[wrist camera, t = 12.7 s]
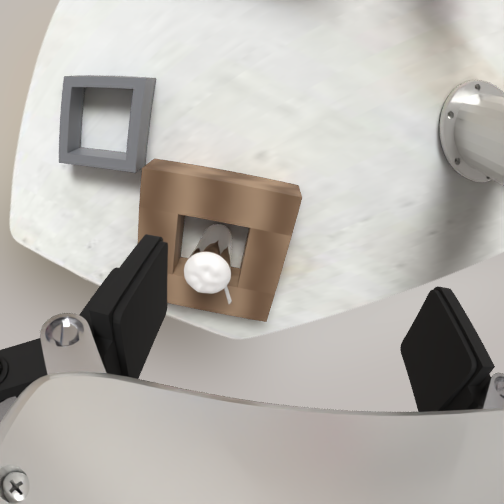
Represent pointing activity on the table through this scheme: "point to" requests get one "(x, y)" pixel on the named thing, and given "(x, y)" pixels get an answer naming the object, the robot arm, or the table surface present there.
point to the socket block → (227, 211)
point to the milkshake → (211, 261)
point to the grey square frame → (137, 124)
